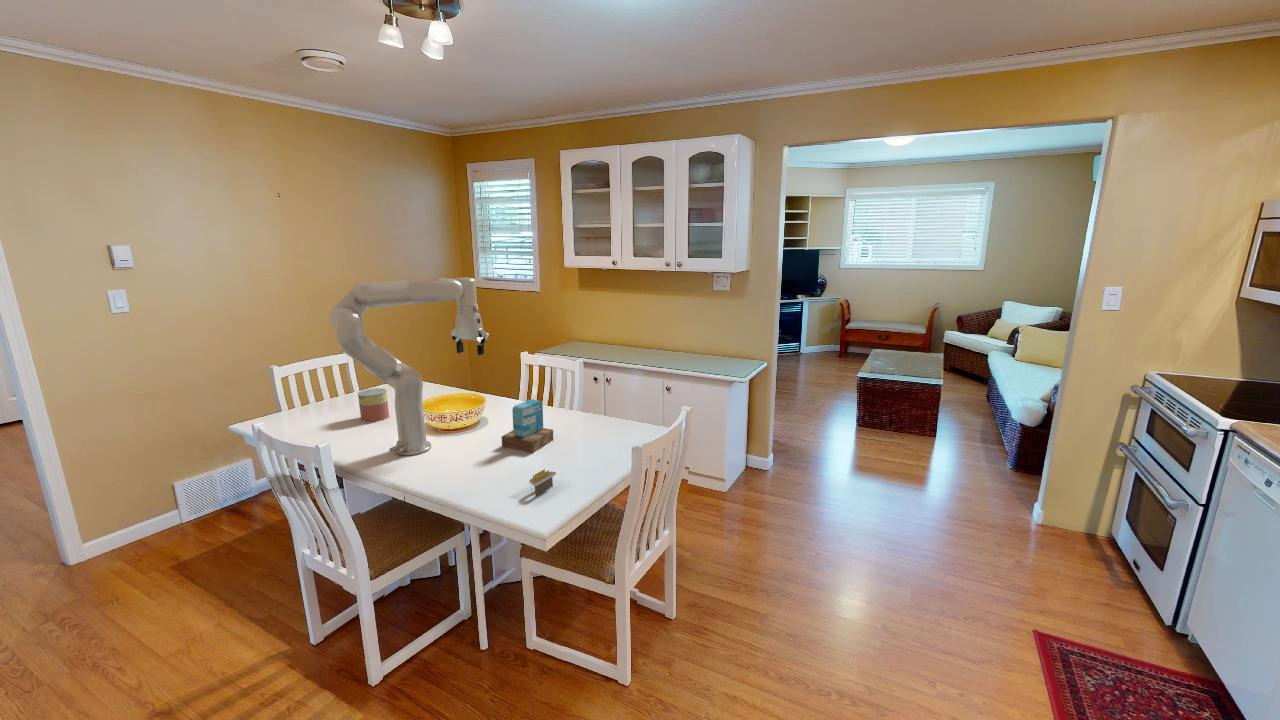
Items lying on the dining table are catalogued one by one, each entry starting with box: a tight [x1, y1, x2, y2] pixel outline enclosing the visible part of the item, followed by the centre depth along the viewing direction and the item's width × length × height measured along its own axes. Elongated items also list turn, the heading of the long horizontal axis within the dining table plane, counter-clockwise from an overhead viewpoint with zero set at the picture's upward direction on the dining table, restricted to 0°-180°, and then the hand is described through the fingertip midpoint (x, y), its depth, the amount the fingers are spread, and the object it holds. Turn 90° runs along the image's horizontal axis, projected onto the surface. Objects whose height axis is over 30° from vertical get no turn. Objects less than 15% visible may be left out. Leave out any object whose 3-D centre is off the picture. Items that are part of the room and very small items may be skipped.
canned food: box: [357, 387, 390, 423], centre depth 240 cm, size 11×11×12 cm
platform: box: [528, 468, 557, 497], centre depth 174 cm, size 12×18×7 cm, turn 149°
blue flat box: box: [512, 398, 544, 438], centre depth 210 cm, size 12×4×12 cm, turn 148°
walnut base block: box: [501, 427, 554, 454], centre depth 212 cm, size 14×14×5 cm
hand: (470, 353), depth 216 cm, fingers open, 9 cm apart
